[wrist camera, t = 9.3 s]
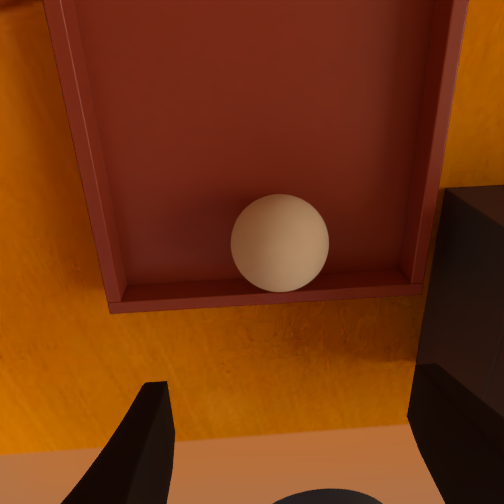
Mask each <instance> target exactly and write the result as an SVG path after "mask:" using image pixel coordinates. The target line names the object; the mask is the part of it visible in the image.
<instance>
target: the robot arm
mask: <svg viewBox="0 0 504 504" xmlns="http://www.w3.org/2000/svg"><path fill="white" fill-rule="evenodd" d="M407 418H408V421H409V423H410V426H411V429H412V432H413V435H414V438H415V441H416V443H417V446H418V449H419V451H420V453H421V455H422V457H423V459H424V461H425V464H426V466H427V468H428V470H429V472H430V474H431V476H432V478H433V480H434V482H435V484H436V486H437V488H438V490H439V492H440V494H441V496H442V497H443V500H444V502H445V504H504V417H503V416H501V415H500V414H499V413H497V412H496V411H495V410H494V409H492V408H491V407H490V406H489V405H487V404H486V403H485V402H484V401H482V400H481V399H480V398H479V397H477V396H476V395H475V394H474V393H472V392H471V391H470V390H469V389H468V388H466V387H465V386H464V385H463V384H461V383H460V382H459V381H458V380H457V379H455V378H454V377H453V376H452V375H451V374H449V373H448V372H447V371H446V370H444V369H443V368H442V367H441V366H439V365H438V364H437V363H430V364H416V366H415V371H414V377H413V383H412V389H411V395H410V401H409V407H408V413H407ZM174 443H175V429H174V422H173V416H172V410H171V403H170V397H169V390H168V384H167V381H162V382H147V383H145V384H144V385H143V386H142V387H141V389H140V391H139V393H138V395H137V396H136V398H135V400H134V402H133V403H132V405H131V407H130V408H129V410H128V412H127V413H126V415H125V417H124V418H123V420H122V422H121V423H120V425H119V426H118V428H117V429H116V431H115V432H114V434H113V435H112V437H111V438H110V440H109V441H108V443H107V444H106V446H105V447H104V449H103V450H102V451H101V453H100V454H99V456H98V457H97V458H96V460H95V461H94V462H93V464H92V465H91V467H90V468H89V469H88V471H87V472H86V473H85V475H84V476H83V477H82V478H81V480H80V481H79V482H78V484H77V485H76V486H75V487H74V488H73V490H72V491H71V492H70V493H69V495H68V496H67V497H66V498H65V499H64V500H63V502H62V503H61V504H167V497H168V492H169V486H170V481H171V475H172V469H173V456H174Z"/></svg>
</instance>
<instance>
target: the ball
mask: <svg viewBox="0 0 504 504" xmlns="http://www.w3.org/2000/svg"><path fill="white" fill-rule="evenodd" d="M328 250H329V236H328V231H327V228H326V225H325V223H324V221H323V219H322V217H321V216H320V214H319V213H318V212H317V210H316V209H315V208H314V207H313V206H311V205H310V204H309V203H307V202H306V201H304V200H302V199H300V198H298V197H295V196H292V195H286V194H273V195H268V196H265V197H262V198H259V199H257V200H256V201H254V202H252V203H251V204H250V205H248V206H247V207H246V208H245V209H244V210H243V211H242V213H241V214H240V215H239V217H238V218H237V220H236V222H235V224H234V227H233V230H232V235H231V251H232V256H233V259H234V262H235V264H236V266H237V268H238V269H239V271H240V272H241V274H242V275H243V276H244V277H245V278H246V279H247V280H248V281H249V282H251V283H252V284H254V285H255V286H257V287H259V288H261V289H264V290H267V291H272V292H288V291H293V290H296V289H298V288H301V287H303V286H304V285H306V284H308V283H309V282H310V281H312V280H313V279H314V278H315V277H316V276H317V275H318V273H319V272H320V271H321V269H322V267H323V266H324V263H325V261H326V259H327V255H328Z"/></svg>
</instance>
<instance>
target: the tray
mask: <svg viewBox="0 0 504 504" xmlns="http://www.w3.org/2000/svg"><path fill="white" fill-rule="evenodd" d="M468 3H469V0H43V5H44V9H45V14H46V19H47V23H48V28H49V33H50V37H51V42H52V47H53V51H54V56H55V60H56V65H57V70H58V74H59V79H60V84H61V88H62V93H63V98H64V102H65V107H66V112H67V116H68V121H69V125H70V130H71V135H72V139H73V144H74V149H75V153H76V158H77V163H78V167H79V172H80V177H81V181H82V186H83V190H84V195H85V200H86V204H87V209H88V214H89V218H90V223H91V228H92V232H93V237H94V242H95V246H96V251H97V256H98V260H99V265H100V269H101V274H102V279H103V283H104V288H105V293H106V297H107V302H108V306H109V311H110V314H115V313H131V312H147V311H163V310H180V309H196V308H212V307H228V306H244V305H260V304H276V303H292V302H309V301H325V300H341V299H357V298H373V297H389V296H405V295H421V294H422V288H423V281H424V275H425V269H426V263H427V256H428V250H429V244H430V238H431V232H432V226H433V219H434V213H435V207H436V201H437V195H438V188H439V182H440V176H441V170H442V164H443V157H444V151H445V145H446V139H447V133H448V127H449V120H450V114H451V108H452V102H453V96H454V89H455V83H456V77H457V71H458V65H459V59H460V52H461V46H462V40H463V34H464V28H465V21H466V15H467V9H468ZM273 194H286V195H292V196H295V197H298V198H300V199H302V200H304V201H306V202H307V203H309V204H310V205H311V206H313V207H314V208H315V209H316V210H317V212H318V213H319V214H320V216H321V217H322V219H323V221H324V223H325V225H326V228H327V231H328V236H329V250H328V255H327V259H326V261H325V263H324V266H323V267H322V269H321V271H320V272H319V273H318V275H317V276H316V277H315V278H314V279H313V280H312V281H310V282H309V283H308V284H306V285H304V286H303V287H301V288H298V289H296V290H293V291H288V292H272V291H267V290H264V289H261V288H259V287H257V286H255V285H254V284H252V283H251V282H249V281H248V280H247V279H246V278H245V277H244V276H243V275H242V274H241V272H240V271H239V269H238V268H237V266H236V264H235V262H234V259H233V256H232V251H231V235H232V230H233V227H234V224H235V222H236V220H237V218H238V217H239V215H240V214H241V213H242V211H243V210H244V209H245V208H246V207H247V206H248V205H250V204H251V203H252V202H254V201H256V200H257V199H259V198H262V197H265V196H268V195H273Z"/></svg>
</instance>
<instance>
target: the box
mask: <svg viewBox="0 0 504 504" xmlns="http://www.w3.org/2000/svg"><path fill="white" fill-rule="evenodd" d="M416 363H417V364H430V363H437V364H438V365H439V366H441V367H442V368H443V369H444V370H446V371H447V372H448V373H449V374H451V375H452V376H453V377H454V378H455V379H457V380H458V381H459V382H460V383H461V384H463V385H464V386H465V387H466V388H468V389H469V390H470V391H471V392H472V393H474V394H475V395H476V396H477V397H479V398H480V399H481V400H482V401H484V402H485V403H486V404H487V405H489V406H490V407H491V408H492V409H494V410H495V411H496V412H497V413H499V414H500V415H501V416H503V417H504V185H497V186H478V187H459V188H446V189H445V194H444V200H443V206H442V211H441V217H440V223H439V229H438V235H437V241H436V247H435V253H434V259H433V265H432V271H431V277H430V282H429V288H428V294H427V300H426V306H425V312H424V318H423V324H422V330H421V336H420V342H419V348H418V354H417V359H416Z"/></svg>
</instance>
